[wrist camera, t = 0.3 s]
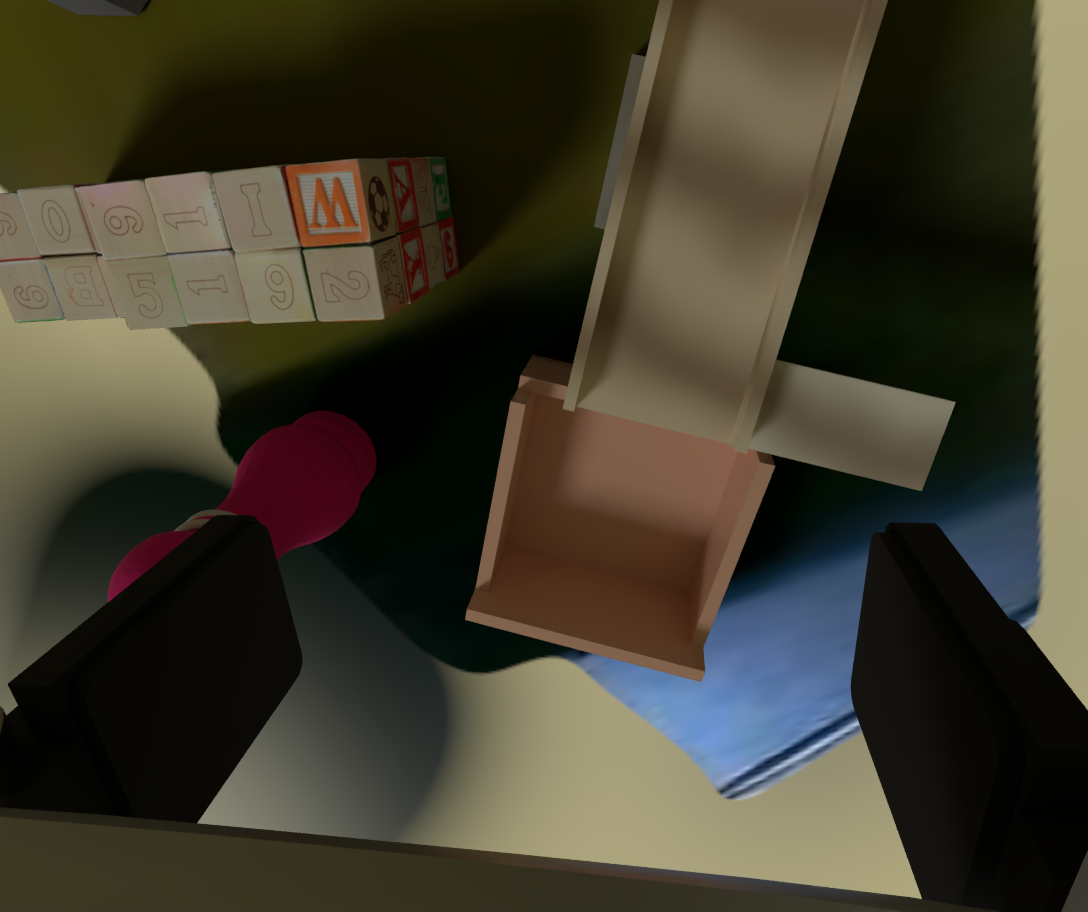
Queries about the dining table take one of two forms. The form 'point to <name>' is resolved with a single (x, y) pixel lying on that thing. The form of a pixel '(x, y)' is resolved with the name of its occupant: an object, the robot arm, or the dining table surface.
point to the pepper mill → (281, 489)
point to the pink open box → (612, 529)
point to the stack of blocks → (231, 244)
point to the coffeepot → (102, 6)
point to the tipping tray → (739, 242)
